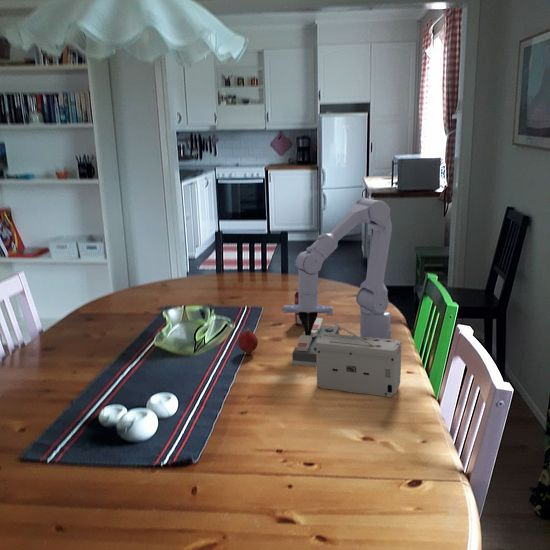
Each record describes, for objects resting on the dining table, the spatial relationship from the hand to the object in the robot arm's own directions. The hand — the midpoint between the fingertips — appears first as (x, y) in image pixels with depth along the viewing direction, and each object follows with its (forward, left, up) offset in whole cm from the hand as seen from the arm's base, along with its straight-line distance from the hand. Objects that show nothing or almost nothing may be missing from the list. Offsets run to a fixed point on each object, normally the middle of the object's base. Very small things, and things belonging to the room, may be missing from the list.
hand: (308, 336), depth 167 cm
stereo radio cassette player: (-18, +21, -5) cm, 29 cm away
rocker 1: (0, +5, 0) cm, 5 cm away
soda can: (+7, -24, -5) cm, 25 cm away
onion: (+17, +6, -5) cm, 19 cm away
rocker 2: (0, -11, 0) cm, 11 cm away
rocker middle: (0, -3, 0) cm, 3 cm away
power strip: (-2, -3, -5) cm, 6 cm away
